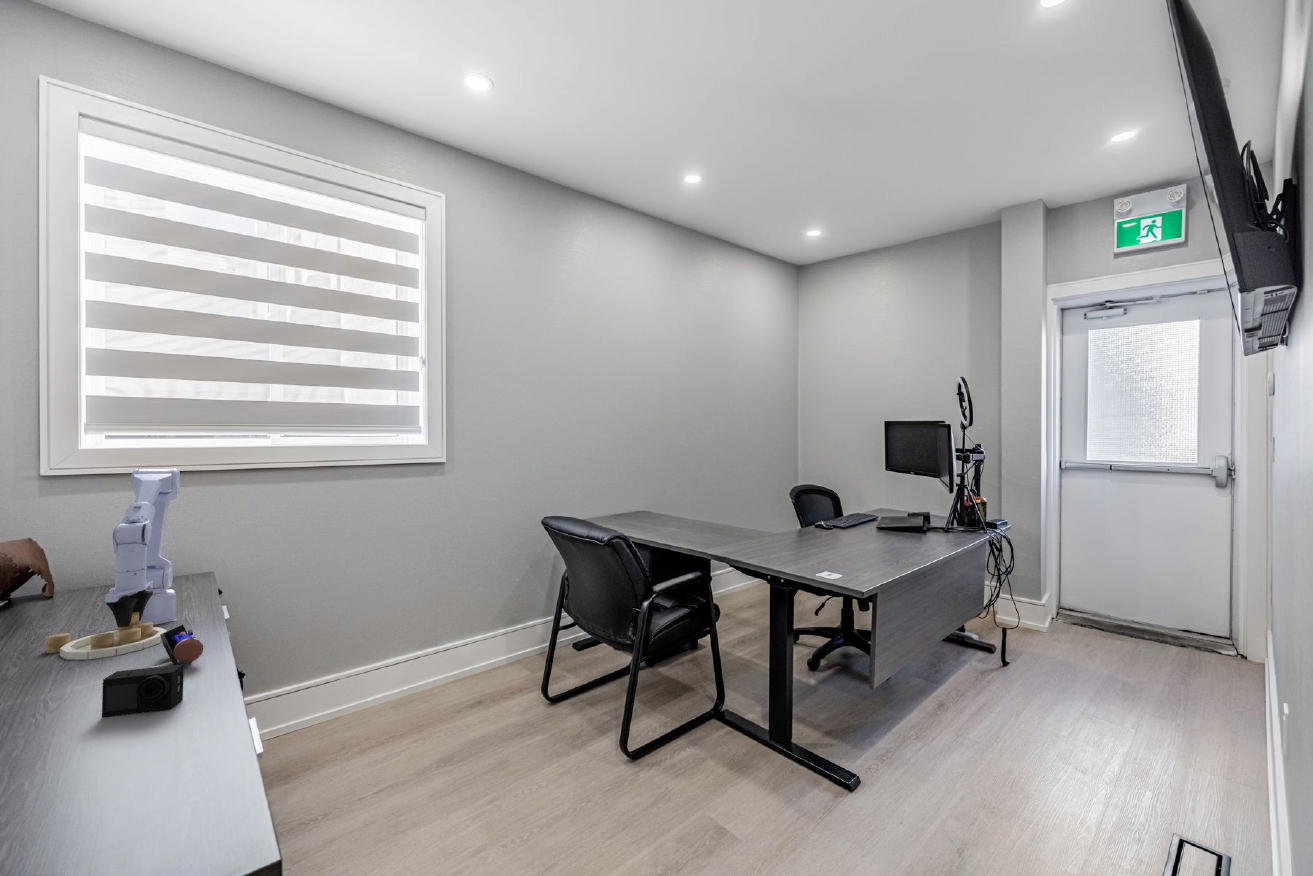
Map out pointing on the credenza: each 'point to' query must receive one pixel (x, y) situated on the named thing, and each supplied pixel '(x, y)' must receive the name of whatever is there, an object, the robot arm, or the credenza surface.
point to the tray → (83, 646)
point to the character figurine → (181, 645)
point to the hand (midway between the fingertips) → (129, 623)
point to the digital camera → (142, 690)
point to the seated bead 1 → (102, 641)
